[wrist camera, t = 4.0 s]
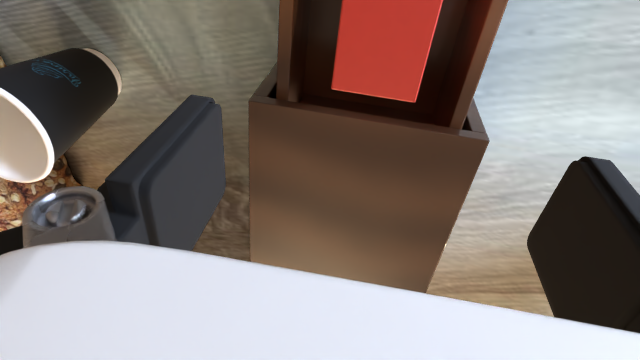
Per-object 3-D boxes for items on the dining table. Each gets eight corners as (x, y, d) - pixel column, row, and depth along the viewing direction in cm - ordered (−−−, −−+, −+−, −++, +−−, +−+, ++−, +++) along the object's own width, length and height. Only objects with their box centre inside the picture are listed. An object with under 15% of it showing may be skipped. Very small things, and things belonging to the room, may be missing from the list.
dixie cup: (79, 117, 38) (-19, 184, 29) (34, 33, 33) (-97, 81, 24) (152, 113, 36) (72, 183, 27) (115, 24, 32) (5, 72, 23)
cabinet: (283, 53, 31) (248, 100, 23) (467, 82, 30) (489, 141, 22) (276, 197, 40) (249, 264, 32) (418, 223, 39) (423, 298, 31)
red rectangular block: (364, -54, 24) (345, -29, 15) (429, -46, 24) (447, -15, 15) (351, 30, 27) (331, 89, 18) (410, 38, 27) (415, 103, 18)
